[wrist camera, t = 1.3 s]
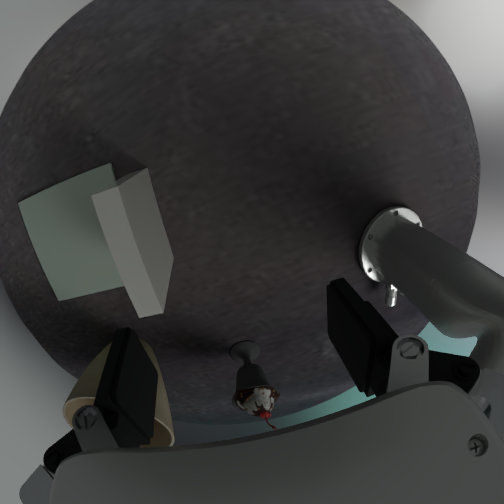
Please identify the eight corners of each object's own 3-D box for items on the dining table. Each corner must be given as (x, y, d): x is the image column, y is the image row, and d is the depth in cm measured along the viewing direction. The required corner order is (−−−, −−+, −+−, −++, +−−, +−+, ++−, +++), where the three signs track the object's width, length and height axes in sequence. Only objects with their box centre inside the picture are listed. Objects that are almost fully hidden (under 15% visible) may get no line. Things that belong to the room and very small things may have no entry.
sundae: (265, 362, 45) (286, 434, 32) (226, 366, 44) (238, 441, 31) (265, 334, 43) (290, 410, 29) (223, 339, 42) (235, 419, 28)
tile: (173, 257, 35) (163, 313, 24) (154, 262, 35) (137, 318, 24) (147, 167, 30) (117, 186, 19) (126, 174, 30) (89, 196, 19)
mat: (148, 278, 36) (148, 280, 35) (60, 299, 34) (58, 301, 34) (111, 162, 29) (109, 162, 28) (19, 202, 28) (18, 203, 27)
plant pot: (192, 366, 43) (196, 448, 29) (125, 386, 43) (114, 458, 29) (143, 300, 37) (122, 388, 22) (74, 330, 37) (41, 404, 23)
